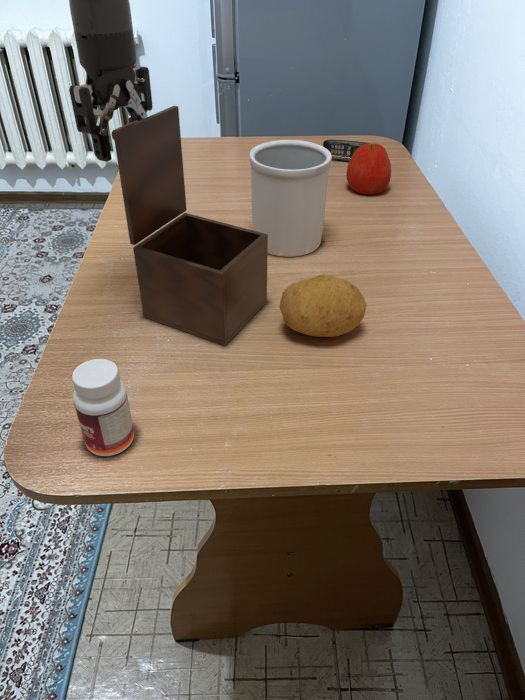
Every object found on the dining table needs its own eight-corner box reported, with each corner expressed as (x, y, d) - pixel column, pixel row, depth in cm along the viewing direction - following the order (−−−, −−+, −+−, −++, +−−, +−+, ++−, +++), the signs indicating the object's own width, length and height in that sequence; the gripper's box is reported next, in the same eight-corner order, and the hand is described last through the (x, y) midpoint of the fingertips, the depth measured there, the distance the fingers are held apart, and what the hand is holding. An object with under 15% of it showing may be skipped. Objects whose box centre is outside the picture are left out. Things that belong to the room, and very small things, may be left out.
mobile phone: (322, 141, 144) (381, 145, 141) (324, 137, 146) (383, 141, 143) (321, 160, 147) (379, 165, 144) (323, 156, 150) (381, 161, 146)
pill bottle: (76, 437, 72) (57, 370, 65) (119, 414, 75) (104, 348, 68) (100, 466, 68) (82, 399, 61) (144, 441, 71) (132, 374, 64)
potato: (373, 300, 80) (364, 261, 87) (279, 304, 80) (277, 265, 87) (368, 348, 87) (360, 308, 93) (281, 351, 87) (279, 311, 94)
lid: (178, 106, 83) (149, 101, 85) (117, 132, 73) (87, 126, 75) (186, 210, 93) (161, 203, 95) (134, 245, 84) (107, 237, 86)
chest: (267, 302, 96) (268, 234, 88) (225, 346, 86) (221, 274, 78) (190, 278, 101) (184, 212, 93) (143, 317, 92) (132, 247, 84)
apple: (364, 176, 138) (369, 133, 132) (398, 189, 133) (405, 144, 126) (336, 188, 133) (340, 143, 126) (370, 202, 127) (376, 155, 121)
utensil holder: (329, 258, 107) (337, 168, 96) (251, 260, 107) (250, 169, 96) (319, 223, 119) (325, 139, 108) (248, 224, 118) (248, 139, 107)
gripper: (116, 15, 80) (132, 133, 90) (40, 31, 70) (68, 162, 80) (159, 19, 77) (171, 141, 87) (86, 38, 67) (109, 172, 77)
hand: (122, 151), depth 84 cm, fingers open, 7 cm apart
